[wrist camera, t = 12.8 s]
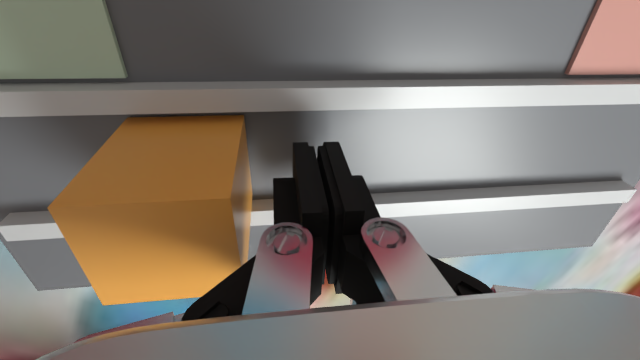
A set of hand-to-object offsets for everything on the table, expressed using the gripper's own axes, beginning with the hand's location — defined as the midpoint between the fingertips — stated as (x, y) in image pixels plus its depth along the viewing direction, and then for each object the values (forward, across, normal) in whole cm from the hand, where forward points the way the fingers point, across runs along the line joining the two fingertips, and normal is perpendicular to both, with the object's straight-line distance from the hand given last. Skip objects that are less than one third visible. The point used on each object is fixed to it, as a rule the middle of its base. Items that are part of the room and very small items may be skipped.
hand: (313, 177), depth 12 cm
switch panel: (+4, -2, 0) cm, 4 cm away
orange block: (+1, +4, 0) cm, 5 cm away
